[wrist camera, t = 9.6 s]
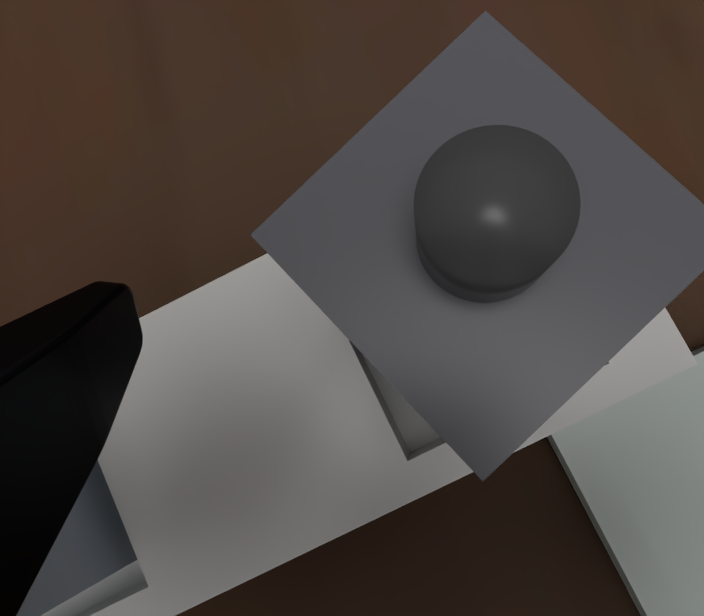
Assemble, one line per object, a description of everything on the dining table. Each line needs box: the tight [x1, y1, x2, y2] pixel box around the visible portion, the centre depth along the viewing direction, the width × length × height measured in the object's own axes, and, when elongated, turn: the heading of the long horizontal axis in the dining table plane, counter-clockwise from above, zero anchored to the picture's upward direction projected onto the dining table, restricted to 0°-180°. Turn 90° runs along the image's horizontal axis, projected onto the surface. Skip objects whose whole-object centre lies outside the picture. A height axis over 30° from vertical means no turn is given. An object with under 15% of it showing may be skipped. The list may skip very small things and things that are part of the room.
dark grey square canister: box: [251, 11, 704, 481], centre depth 14 cm, size 5×5×14 cm
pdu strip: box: [41, 253, 698, 616], centre depth 19 cm, size 24×8×4 cm, turn 116°
